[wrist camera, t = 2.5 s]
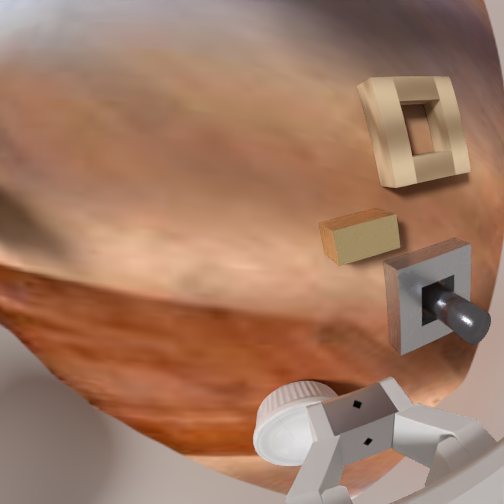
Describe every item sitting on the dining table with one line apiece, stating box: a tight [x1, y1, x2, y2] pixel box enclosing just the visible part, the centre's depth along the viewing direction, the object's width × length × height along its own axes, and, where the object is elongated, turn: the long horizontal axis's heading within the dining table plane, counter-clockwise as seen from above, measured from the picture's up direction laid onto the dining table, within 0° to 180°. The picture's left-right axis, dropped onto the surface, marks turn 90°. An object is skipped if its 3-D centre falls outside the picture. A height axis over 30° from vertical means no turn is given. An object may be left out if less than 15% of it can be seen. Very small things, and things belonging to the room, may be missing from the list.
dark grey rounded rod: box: [421, 282, 491, 345], centre depth 26 cm, size 3×3×10 cm
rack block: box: [357, 76, 471, 188], centre depth 25 cm, size 10×10×3 cm
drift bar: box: [319, 209, 400, 266], centre depth 26 cm, size 3×6×4 cm, turn 104°
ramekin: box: [253, 381, 338, 466], centre depth 31 cm, size 11×11×5 cm
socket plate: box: [383, 238, 471, 355], centre depth 29 cm, size 10×10×3 cm
